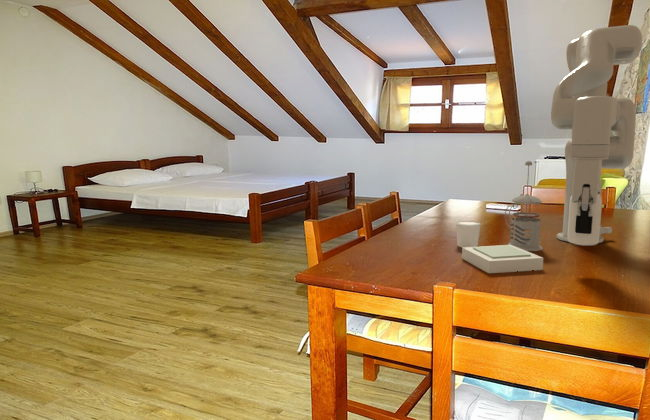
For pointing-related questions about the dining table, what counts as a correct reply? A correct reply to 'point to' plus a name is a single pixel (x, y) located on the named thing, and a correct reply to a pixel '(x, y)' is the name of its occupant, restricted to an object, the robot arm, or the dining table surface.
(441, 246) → the dining table surface
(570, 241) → the can
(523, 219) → the french press
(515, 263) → the base
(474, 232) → the white cup
